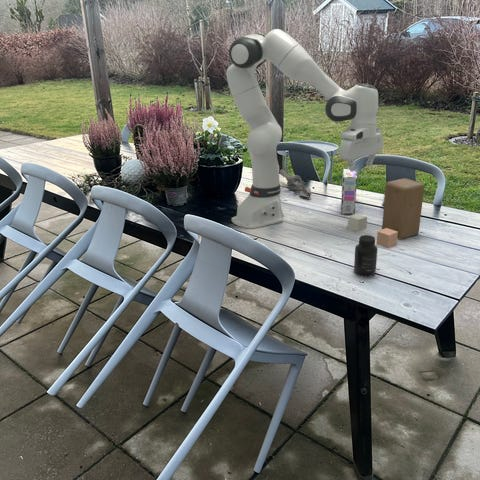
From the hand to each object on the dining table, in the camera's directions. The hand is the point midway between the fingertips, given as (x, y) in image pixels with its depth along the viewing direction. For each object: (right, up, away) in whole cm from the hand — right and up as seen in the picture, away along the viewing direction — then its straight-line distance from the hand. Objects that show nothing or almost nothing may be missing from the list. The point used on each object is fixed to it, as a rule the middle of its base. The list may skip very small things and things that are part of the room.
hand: (360, 168), depth 175 cm
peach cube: (+8, -28, -5) cm, 30 cm away
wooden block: (+16, -24, +4) cm, 29 cm away
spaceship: (-18, -2, +58) cm, 61 cm away
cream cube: (+1, -22, +10) cm, 24 cm away
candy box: (+2, -14, +30) cm, 33 cm away
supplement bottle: (-5, -37, -24) cm, 45 cm away
